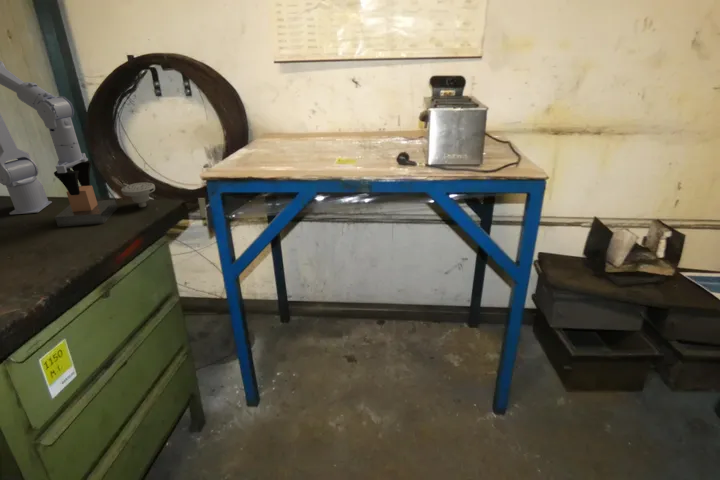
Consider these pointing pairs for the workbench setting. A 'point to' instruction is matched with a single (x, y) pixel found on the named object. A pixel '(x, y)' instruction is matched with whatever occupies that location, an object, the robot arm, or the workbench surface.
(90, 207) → the terracotta block
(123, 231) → the workbench surface
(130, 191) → the showerhead
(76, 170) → the robot arm
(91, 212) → the steel base
